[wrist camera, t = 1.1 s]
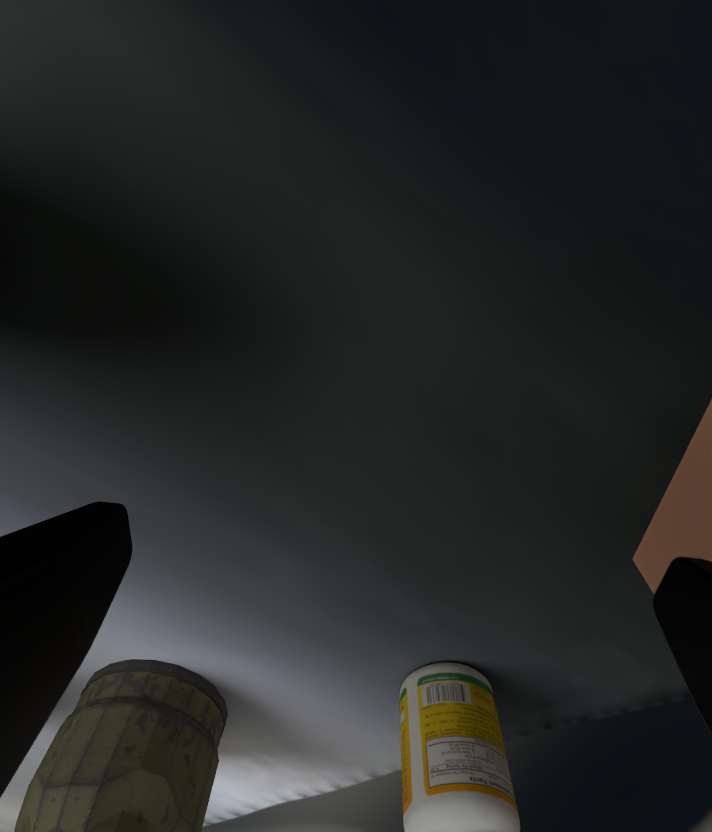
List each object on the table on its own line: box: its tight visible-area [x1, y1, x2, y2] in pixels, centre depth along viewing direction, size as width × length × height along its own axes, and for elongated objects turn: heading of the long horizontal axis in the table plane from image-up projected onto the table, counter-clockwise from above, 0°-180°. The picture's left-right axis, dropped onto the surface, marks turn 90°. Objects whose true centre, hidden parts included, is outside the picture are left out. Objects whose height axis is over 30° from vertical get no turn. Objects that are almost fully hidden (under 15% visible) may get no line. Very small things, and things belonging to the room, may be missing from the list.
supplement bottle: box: [400, 662, 520, 832], centre depth 26 cm, size 5×5×10 cm
